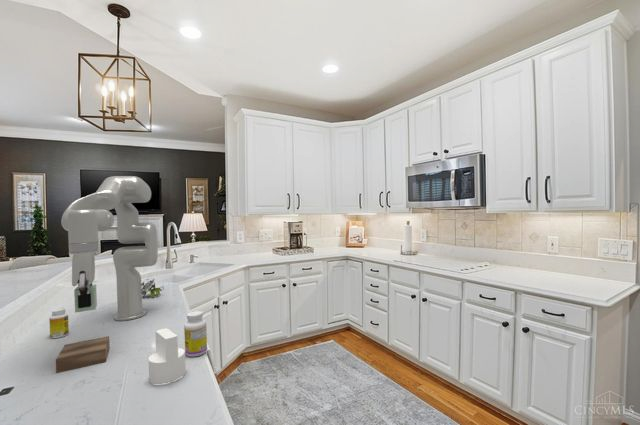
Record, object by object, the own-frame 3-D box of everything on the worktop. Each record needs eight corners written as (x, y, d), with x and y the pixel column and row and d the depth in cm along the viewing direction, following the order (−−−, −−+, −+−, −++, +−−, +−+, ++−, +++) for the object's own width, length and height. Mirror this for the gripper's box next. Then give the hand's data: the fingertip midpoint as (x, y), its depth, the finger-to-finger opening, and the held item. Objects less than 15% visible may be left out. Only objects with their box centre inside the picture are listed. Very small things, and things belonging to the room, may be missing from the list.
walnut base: (65, 357, 100) (64, 344, 100) (109, 347, 106) (109, 336, 106) (56, 373, 89) (55, 359, 89) (106, 361, 95) (105, 348, 95)
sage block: (77, 308, 99) (77, 287, 99) (96, 305, 101) (96, 284, 101) (75, 312, 95) (74, 290, 95) (95, 309, 97) (94, 287, 97)
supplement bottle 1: (67, 336, 117) (66, 310, 117) (48, 340, 115) (47, 313, 115) (70, 332, 122) (69, 306, 122) (52, 335, 120) (51, 309, 120)
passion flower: (144, 307, 172) (135, 289, 175) (163, 299, 180) (155, 281, 183) (147, 299, 165) (138, 280, 168) (167, 291, 173) (158, 273, 176)
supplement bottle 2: (185, 350, 101) (184, 311, 101) (207, 346, 104) (205, 308, 104) (184, 359, 95) (183, 318, 95) (207, 355, 97) (205, 314, 97)
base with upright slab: (145, 377, 85) (143, 334, 85) (178, 365, 92) (177, 324, 92) (155, 389, 79) (153, 343, 79) (190, 375, 85) (189, 332, 85)
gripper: (73, 247, 103) (76, 301, 103) (63, 251, 89) (65, 314, 89) (101, 245, 107) (103, 297, 107) (95, 249, 93) (97, 309, 93)
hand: (86, 304), depth 98 cm, fingers closed on sage block, 5 cm apart
